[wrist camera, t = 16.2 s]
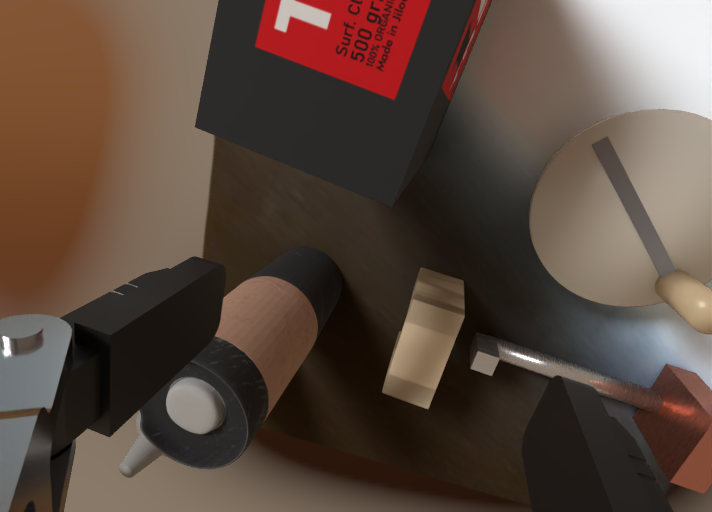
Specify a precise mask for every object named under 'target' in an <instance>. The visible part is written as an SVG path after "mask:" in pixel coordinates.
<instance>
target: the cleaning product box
mask: <svg viewBox="0 0 712 512" xmlns="http://www.w3.org/2000/svg"><path fill="white" fill-rule="evenodd" d="M491 1H492V0H219V2H218V8H217V13H216V18H215V23H214V29H213V34H212V39H211V45H210V50H209V55H208V60H207V66H206V71H205V76H204V82H203V87H202V92H201V97H200V103H199V108H198V113H197V119H196V125H195V127H196V128H198V129H201V130H203V131H206V132H208V133H210V134H213V135H215V136H218V137H220V138H223V139H225V140H228V141H230V142H232V143H235V144H237V145H240V146H242V147H245V148H247V149H250V150H252V151H255V152H257V153H259V154H262V155H264V156H267V157H269V158H272V159H274V160H277V161H279V162H282V163H284V164H286V165H289V166H291V167H294V168H296V169H299V170H301V171H304V172H306V173H308V174H311V175H313V176H316V177H318V178H321V179H323V180H326V181H328V182H331V183H333V184H335V185H338V186H340V187H343V188H345V189H348V190H350V191H353V192H355V193H358V194H360V195H362V196H365V197H367V198H370V199H372V200H375V201H377V202H380V203H382V204H384V205H387V206H389V207H393V205H394V204H395V203H396V201H397V200H398V198H399V197H400V196H401V194H402V193H403V191H404V190H405V189H406V187H407V186H408V184H409V183H410V182H411V180H412V179H413V177H414V176H415V175H416V173H417V172H418V170H419V169H420V168H421V166H422V165H423V163H424V162H425V161H426V159H427V157H428V155H429V152H430V150H431V147H432V145H433V142H434V140H435V138H436V135H437V133H438V130H439V128H440V125H441V123H442V121H443V118H444V116H445V113H446V111H447V108H448V106H449V104H450V101H451V99H452V96H453V94H454V91H455V89H456V87H457V84H458V82H459V79H460V77H461V74H462V72H463V70H464V67H465V65H466V62H467V60H468V57H469V55H470V52H471V50H472V48H473V45H474V43H475V40H476V38H477V35H478V33H479V31H480V28H481V26H482V23H483V21H484V18H485V16H486V14H487V11H488V9H489V6H490V4H491Z"/></svg>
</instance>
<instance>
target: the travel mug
mask: <svg viewBox="0 0 712 512" xmlns="http://www.w3.org/2000/svg"><path fill="white" fill-rule="evenodd" d="M341 292H342V278H341V274H340V271H339V269H338V267H337V266H336V264H335V263H334V262H333V260H332V259H331V258H330V257H329V256H327V255H326V254H325V253H323V252H321V251H319V250H317V249H313V248H308V247H301V248H295V249H292V250H290V251H288V252H286V253H285V254H283V255H282V256H280V257H279V258H277V259H276V260H274V261H273V262H271V263H270V264H269V265H267V266H266V267H264V268H263V269H261V270H260V271H258V272H257V273H256V274H254V275H253V276H251V277H250V278H248V279H247V280H246V281H244V282H243V283H242V284H240V285H239V286H238V287H237V288H235V289H234V290H233V291H232V292H230V293H229V294H228V295H227V296H225V297H224V298H223V304H222V312H221V320H220V325H219V328H218V330H217V332H216V335H215V336H214V338H213V340H212V341H211V342H210V343H209V344H208V345H207V346H206V347H205V348H204V349H203V350H202V351H201V352H200V353H199V354H198V355H197V356H196V357H195V358H194V359H193V360H191V361H190V362H189V363H188V364H187V365H186V366H185V367H184V368H183V369H182V370H181V371H180V372H179V373H178V374H177V375H175V376H174V377H173V378H172V379H171V380H170V381H169V382H168V383H167V384H166V385H165V386H164V387H163V388H162V389H161V390H159V391H158V392H157V393H156V394H155V395H154V396H153V397H152V398H151V399H150V400H149V401H148V402H147V403H146V404H145V405H143V406H142V407H141V408H140V409H139V410H140V414H141V421H140V429H141V431H142V433H143V435H144V436H145V437H146V439H147V440H148V441H149V442H150V443H151V444H152V445H153V446H154V447H155V448H157V449H158V450H159V451H160V452H162V453H163V454H164V455H166V456H167V457H169V458H171V459H173V460H175V461H177V462H179V463H181V464H184V465H187V466H190V467H194V468H199V469H216V468H220V467H224V466H227V465H229V464H231V463H232V462H234V461H235V460H237V459H238V458H239V457H240V456H241V455H242V454H243V452H244V451H245V450H246V449H247V447H248V446H249V444H250V443H251V441H252V440H253V438H254V436H255V435H256V433H257V432H258V430H259V429H260V427H261V426H262V424H263V423H264V421H265V419H266V418H267V416H268V415H269V413H270V412H271V410H272V409H273V407H274V406H275V404H276V403H277V401H278V399H279V398H280V396H281V395H282V393H283V392H284V390H285V389H286V387H287V386H288V384H289V383H290V381H291V379H292V378H293V376H294V375H295V373H296V372H297V370H298V369H299V367H300V366H301V364H302V362H303V361H304V359H305V358H306V356H307V355H308V353H309V352H310V350H311V349H312V347H313V345H314V343H315V342H316V340H317V338H318V336H319V334H320V333H321V331H322V329H323V327H324V326H325V324H326V322H327V320H328V318H329V317H330V315H331V313H332V311H333V309H334V308H335V306H336V304H337V302H338V300H339V298H340V295H341Z"/></svg>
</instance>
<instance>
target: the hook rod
mask: <svg viewBox="0 0 712 512" xmlns="http://www.w3.org/2000/svg"><path fill="white" fill-rule="evenodd" d="M499 360H500V361H503V362H506V363H509V364H512V365H515V366H518V367H521V368H524V369H527V370H530V371H533V372H535V373H538V374H541V375H544V376H547V377H550V378H553V377H554V376H556V375H559V376H562V377H565V378H569V379H572V380H575V381H578V382H581V383H584V384H587V385H590V386H593V387H594V388H595V389H596V391H597V392H598V394H600V395H603V396H606V397H609V398H612V399H615V400H618V401H621V402H624V403H627V404H630V405H633V406H636V407H639V408H638V409H637V411H636V413H635V414H634V416H633V419H634V421H635V422H636V424H637V426H638V428H639V429H640V431H641V433H642V435H643V436H644V438H645V440H646V442H647V443H648V445H649V447H650V448H651V450H652V452H653V454H654V455H655V457H656V459H657V461H658V462H659V464H660V466H661V468H662V469H663V471H664V473H665V474H666V476H667V478H668V480H669V481H670V482H671V483H674V484H677V485H680V486H683V487H685V488H688V489H691V490H694V491H696V492H699V493H702V494H704V493H705V492H706V491H707V489H708V488H709V487H710V486H711V484H712V390H711V389H710V388H709V387H708V386H707V385H706V384H705V383H704V381H703V380H702V379H701V378H700V377H699V376H698V375H697V374H696V373H694V372H690V371H687V370H684V369H681V368H678V367H675V366H672V365H669V364H666V365H665V367H664V368H663V370H662V371H661V373H660V375H659V376H658V378H657V379H656V381H655V383H654V384H653V386H652V387H651V389H649V388H646V387H643V386H640V385H637V384H634V383H631V382H628V381H625V380H622V379H619V378H616V377H613V376H610V375H607V374H604V373H601V372H598V371H595V370H592V369H589V368H586V367H583V366H580V365H577V364H574V363H571V362H568V361H565V360H562V359H559V358H556V357H553V356H550V355H547V354H544V353H541V352H538V351H535V350H532V349H529V348H526V347H523V346H520V345H517V344H514V343H511V342H508V341H505V340H502V339H499V338H496V337H493V336H490V335H483V334H480V333H477V332H476V334H475V337H474V339H473V342H472V344H471V346H470V369H473V370H476V371H478V372H481V373H484V374H487V375H490V376H492V375H493V373H494V370H495V368H496V366H497V364H498V361H499Z"/></svg>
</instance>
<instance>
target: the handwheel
mask: <svg viewBox="0 0 712 512" xmlns="http://www.w3.org/2000/svg"><path fill="white" fill-rule="evenodd" d="M528 218H529V231H530V236H531V240H532V243H533V246H534V249H535V251H536V253H537V255H538V257H539V259H540V261H541V262H542V264H543V265H544V267H545V268H546V270H547V271H548V272H549V274H550V275H551V276H552V277H553V278H554V279H555V280H556V281H557V282H558V283H560V284H561V285H562V286H564V287H565V288H566V289H568V290H569V291H571V292H573V293H575V294H576V295H578V296H581V297H583V298H585V299H588V300H590V301H594V302H597V303H601V304H606V305H612V306H623V307H634V306H646V305H653V304H658V303H662V302H666V303H667V304H668V305H669V306H670V307H671V308H672V309H674V310H675V311H676V312H677V313H678V314H679V315H680V316H681V317H682V318H684V319H685V320H686V321H687V322H688V323H689V324H690V325H691V326H692V327H693V328H695V329H696V330H697V331H699V332H701V333H704V334H712V290H711V289H710V288H708V287H707V286H706V285H704V284H706V283H707V282H709V281H710V280H712V120H710V119H708V118H705V117H702V116H700V115H697V114H693V113H689V112H684V111H678V110H667V109H658V110H640V111H633V112H627V113H623V114H620V115H616V116H613V117H610V118H607V119H605V120H602V121H600V122H597V123H596V124H594V125H592V126H590V127H588V128H586V129H584V130H583V131H581V132H580V133H579V134H577V135H576V136H574V137H573V138H571V139H570V140H569V141H568V142H567V143H566V144H565V145H563V146H562V147H561V148H560V149H559V150H558V151H557V153H556V154H555V155H554V156H553V157H552V158H551V159H550V161H549V162H548V164H547V165H546V166H545V168H544V169H543V171H542V173H541V175H540V177H539V178H538V180H537V182H536V185H535V188H534V190H533V193H532V197H531V201H530V206H529V216H528Z"/></svg>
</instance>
